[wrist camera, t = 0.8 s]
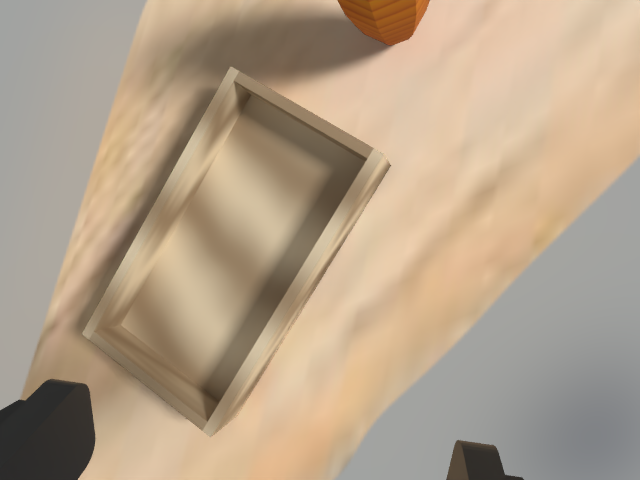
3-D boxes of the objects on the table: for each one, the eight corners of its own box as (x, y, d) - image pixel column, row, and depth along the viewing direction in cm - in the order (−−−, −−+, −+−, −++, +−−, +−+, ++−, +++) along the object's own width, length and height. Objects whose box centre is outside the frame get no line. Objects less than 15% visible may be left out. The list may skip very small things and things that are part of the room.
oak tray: (254, 86, 30) (230, 66, 27) (390, 165, 28) (383, 154, 24) (119, 325, 32) (81, 334, 29) (236, 416, 30) (210, 437, 26)
